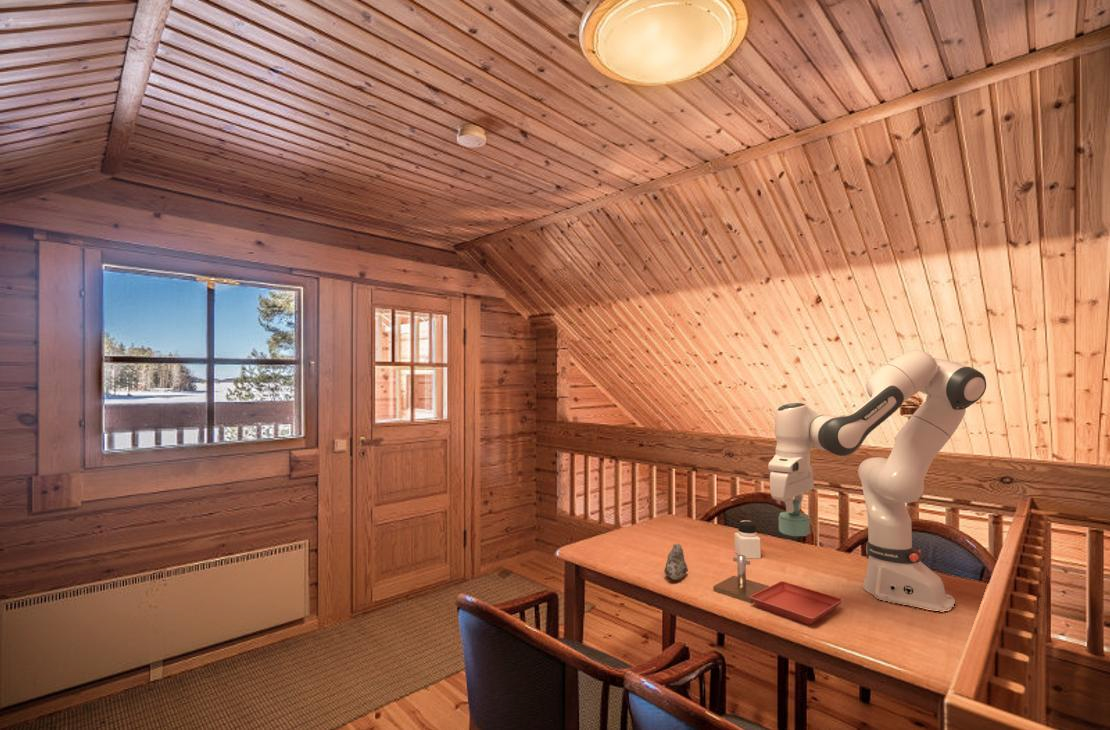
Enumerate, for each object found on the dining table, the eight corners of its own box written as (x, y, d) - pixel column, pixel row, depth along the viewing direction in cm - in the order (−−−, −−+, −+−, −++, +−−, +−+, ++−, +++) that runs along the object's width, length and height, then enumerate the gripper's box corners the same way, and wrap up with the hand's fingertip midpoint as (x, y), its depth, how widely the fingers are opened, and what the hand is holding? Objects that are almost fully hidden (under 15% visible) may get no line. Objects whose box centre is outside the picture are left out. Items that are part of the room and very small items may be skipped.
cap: (787, 526, 156) (786, 496, 156) (813, 532, 150) (812, 500, 150) (775, 532, 150) (774, 500, 151) (802, 537, 145) (801, 505, 145)
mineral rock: (673, 585, 166) (672, 553, 166) (647, 575, 175) (646, 544, 175) (699, 575, 174) (698, 544, 174) (673, 566, 183) (672, 536, 183)
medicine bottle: (761, 558, 189) (760, 524, 189) (740, 558, 189) (740, 524, 190) (754, 552, 196) (753, 519, 196) (734, 552, 196) (734, 519, 197)
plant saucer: (748, 607, 151) (748, 595, 151) (781, 590, 162) (781, 579, 162) (812, 631, 137) (812, 618, 137) (844, 611, 148) (843, 599, 148)
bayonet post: (770, 591, 161) (770, 556, 161) (751, 603, 153) (750, 566, 153) (733, 580, 170) (733, 546, 170) (713, 591, 162) (713, 556, 162)
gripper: (797, 455, 160) (798, 502, 160) (765, 464, 146) (766, 515, 146) (819, 458, 155) (820, 506, 155) (788, 467, 141) (789, 520, 141)
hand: (793, 510), depth 150 cm, fingers closed on cap, 3 cm apart
